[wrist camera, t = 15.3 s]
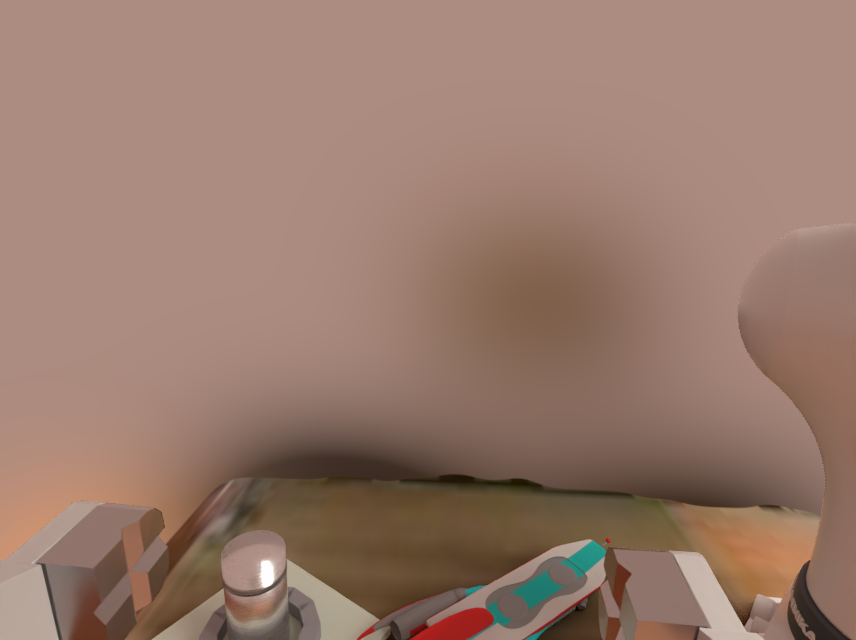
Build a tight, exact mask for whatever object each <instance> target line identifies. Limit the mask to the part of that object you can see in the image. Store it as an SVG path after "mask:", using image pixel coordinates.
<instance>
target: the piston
mask: <svg viewBox="0 0 856 640" xmlns="http://www.w3.org/2000/svg"><path fill="white" fill-rule="evenodd" d="M221 568H222V573H221V575H222V583H223V588H224V598H225V608H226V618H227V628H228V638H229V640H290V625H289V606H288V587H287V559H286V548H285V542H284V540H283V538H282V537H281V536H280V535H278V534H277V533H275V532H272V531H268V530H254V531H249V532H246V533H243V534H241V535H239V536H237V537H235V538H234V539H232V540H231V541H230V542H229V543H228V544H227V545H226V546H225V547H224V549H223V550H222V553H221Z"/></svg>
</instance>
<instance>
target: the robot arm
mask: <svg viewBox="0 0 856 640" xmlns="http://www.w3.org/2000/svg"><path fill="white" fill-rule="evenodd" d="M738 323H739V330H740V334H741V337H742V340H743V343H744V345H745V348H746V350H747V352H748V353H749V355H750V357H751V359H752V360H753V361H754V363H755V364H756V366H757V367H758V368H759V369H760V370H761V372H762V373H763V374H764V375H765V376H766V377H768V378H769V379H770V380H771V381H772V382H773V383H774V384H776V385H777V386H778V387H779V388H780V389H781V390H782V391H783V392H784V393H785V394H786V395H787V396H788V397H789V399H790V400H791V401H792V402H793V403H794V405H795V406H796V407H797V408H798V410H799V411H800V412H801V414H802V415H803V417H804V418H805V420H806V422H807V423H808V425H809V426H810V428H811V430H812V433H813V434H814V437H815V439H816V442H817V444H818V447H819V450H820V454H821V457H822V461H823V466H824V472H825V473H824V474H825V492H824V499H823V506H822V512H821V518H820V523H819V528H818V533H817V537H816V541H815V545H814V549H813V553H812V557H811V560H809V561H808V562H807V563H805V564H804V565H803V567H802V568H801V570H800V572H799V574H798V575H797V576H796V578H795V580H793V581H792V582H791V584H790V585H789V587H788V589H787V591H786V593H785V595H784V596H783V598H774V597H766V596H764V595H762V594H758V595H757V597H756V599H755V601H754V604H753V607H752V610H751V614H750V618H749V619H748V621H747V623H746V625H745V626H744V627H743V625H742V623H741V621H740V620H739V618H738V616H737V614H736V613H735V611H734V609H733V607H732V606H731V604H730V602H729V600H728V599H727V597H726V595H725V593H724V592H723V590H722V588H721V586H720V585H719V583H718V581H717V579H716V578H715V576H714V574H713V572H712V571H711V569H710V567H709V565H708V564H707V562H706V560H705V558H704V557H703V556H702V555H701V554H699V553H698V552H683V551H667V552H666V551H656V550H644V549H631V548H618V547H608V549H607V551H606V553H605V559H604V565H603V566H604V569H605V573H606V576H607V579H608V580H607V581H606V582H605V583H604V584H602V585H601V586H600V593H599V601H598V613H599V626H600V633H601V637H602V640H856V223H848V224H836V225H827V226H818V227H809V228H799V229H795V230H792V231H791V232H789V233H788V234H786V235H784V236H783V237H782V238H780V239H779V240H778V241H777V242H775V243H774V244H772V245H771V246H770V247H769V248H768V249H767V250H766V251H765V252H764V253H763V254H762V255H761V256H760V258H759V259H758V260H757V261H756V263H755V264H754V265H753V267H752V268H751V270H750V272H749V273H748V275H747V277H746V279H745V282H744V284H743V287H742V289H741V294H740V298H739V304H738ZM164 527H165V525H164V520H163V515H162V512H161V511H159V510H158V509H156V508H150V507H142V506H132V505H123V504H114V503H101V502H92V501H78V502H75V503H72V504H71V505H69V506H68V507H67V508H66V509H65V510H64V511H63V512H61V513H60V514H59V515H58V516H57V517H55V518H54V519H53V520H52V521H50V522H49V523H48V524H47V525H46V526H45V527H43V528H42V529H41V530H40V531H39V532H38V533H36V534H35V535H34V536H33V537H32V538H30V539H29V540H28V541H27V542H26V543H24V544H23V545H22V546H21V547H20V548H19V549H17V550H16V551H15V552H14V553H13V554H12V555H10V556H9V557H8V558H7V559H6V560H4V561H0V640H124V639H125V638H126V637H127V635H128V634H129V633H130V631H131V630H132V629H133V627H134V626H135V625H136V623H137V622H136V611H138V610H139V609H141V608H143V607H144V606H146V605H148V604H149V603H151V602H152V601H153V600H154V598H155V597H156V596H157V594H158V593H159V591H160V590H161V588H162V586H163V583H164V581H165V578H166V575H167V573H168V566H169V552H168V547H167V546H166V544H165V543H164V542H163V541H162V540H161V539H160V538H159V535H160V533H161V532H162V530H163V529H164Z"/></svg>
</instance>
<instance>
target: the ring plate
mask: <svg viewBox="0 0 856 640" xmlns="http://www.w3.org/2000/svg"><path fill="white" fill-rule="evenodd" d="M287 587H288V606H289V625H290V640H357V638H358V637H359V636H360V635H361V634H362V633H364V632H365V631H366V630H368V629H369V628H370V627H371V626H373V625H374V624H375V623H377V622H378V621H380V620H379V619H378V618H376V617H375V616H373V615H372V614H370V613H369V612H367V611H366V610H364V609H363V608H361V607H359V606H358V605H356V604H355V603H353V602H352V601H350V600H349V599H347V598H346V597H344V596H343V595H341V594H340V593H338V592H337V591H335V590H334V589H332V588H331V587H329V586H327V585H326V584H324V583H323V582H321V581H320V580H318V579H317V578H315V577H314V576H312V575H311V574H309V573H308V572H306V571H305V570H303V569H302V568H300V567H299V566H297V565H295V564H294V563H292V562H291V561H289V560H288V559H287ZM390 634H391V627H390V626H386V627H384V628H381V629H379V630H377V631H375V632H373V633H371V634H369V635H367V636H365V637H364V638H362V639H361V640H386V639H387V638H388V637H389V636H390ZM152 640H229V638H228V628H227V618H226V608H225V598H224V588H223V589H222V590H220V591H219V592H218V593H216V594H215V595H213V596H212V597H211V598H209V599H208V600H206V601H205V602H204V603H202V604H201V605H199V606H198V607H197V608H195V609H194V610H192V611H191V612H190V613H188V614H187V615H185V616H184V617H183V618H181V619H180V620H178V621H177V622H176V623H174V624H173V625H171V626H170V627H169V628H167V629H166V630H164V631H163V632H161V633H160V634H159V635H157V636H156V637H154V638H153V639H152Z"/></svg>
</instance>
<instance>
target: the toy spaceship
mask: <svg viewBox="0 0 856 640" xmlns="http://www.w3.org/2000/svg"><path fill="white" fill-rule="evenodd" d="M606 543H610V539H609V538H607V539H606V542H605V543H604V544H603V545H602V546H600V545H598V544H597V543H596V542H594V541H593V540H591V539H589V540H583V541H578V542H574V543H569V544H564V545H560V546H556V547H553V548H552V549H550V550H548V551H546V552H545V553H543V554H541V555H539V556H538V557H536V558H534V559H532V560H530V561H529V562H527V563H525V564H523V565H522V566H520V567H518V568H516V569H515V570H513V571H511V572H509V573H508V574H506V575H504V576H502V577H501V578H499V579H497V580H495V581H494V582H492V583H490V584H488V585H484V586H476V587H472V588H465V587H463V588H456V589H453V590H450V591H447V592H445V593H440V594H437V595H434V596H431V597H428V598H425V599H422V600H419V601H417V602H414V603H412V604H409V605H406V606H404V607H402V608H400V609H399V610H397V611H395V612H393V613H391V614H389V615H388V616H386V617H384V618H383V619H381V620H380V621H378V622H377V623H375V624H374V625H373V626H371V627H370V628H369V629H368V630H366V631H365V632H364V633H362V634H361V635H360V636H359V637H358V638H357V640H361V639H362V638H364V637H365V636H367V635H369V634H371V633H373V632H375V631H377V630H379V629H381V628H384V627H386V626H389V625H391V630H392V633H393V635H394V637H395V639H396V640H406V639H409V637H411V636H413V635H414V634H416V633H418V632H420V631H421V632H420V633H418V634H417V635H415V636H414V637H412V638H411V639H410V640H537V638H538V637H539V636H540V635H541V634H542V633H543V632H544V631H545V630H546V629H549V628H550V627H551V625H554V624H556V622H559V621H560V620H561V618H564V617H566V615H569V614H570V612H573V611H574V610H575V608H576V605H577V607H578V609H581V610H585V609H586V604H587V599H588V597H589V596H590V595H591V594H593V593H594V592H595V591H597V590H598V589H599V588H600V586H601V585H602V584H603V582H604V580H605V576H606V573H605V569H604V566H603V565H604V559H605V553H606V550H605V549H603V548H602V547H603V546H604V545H605V544H606ZM427 627H428V628H427ZM424 629H425V630H424ZM422 630H423V631H422Z"/></svg>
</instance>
